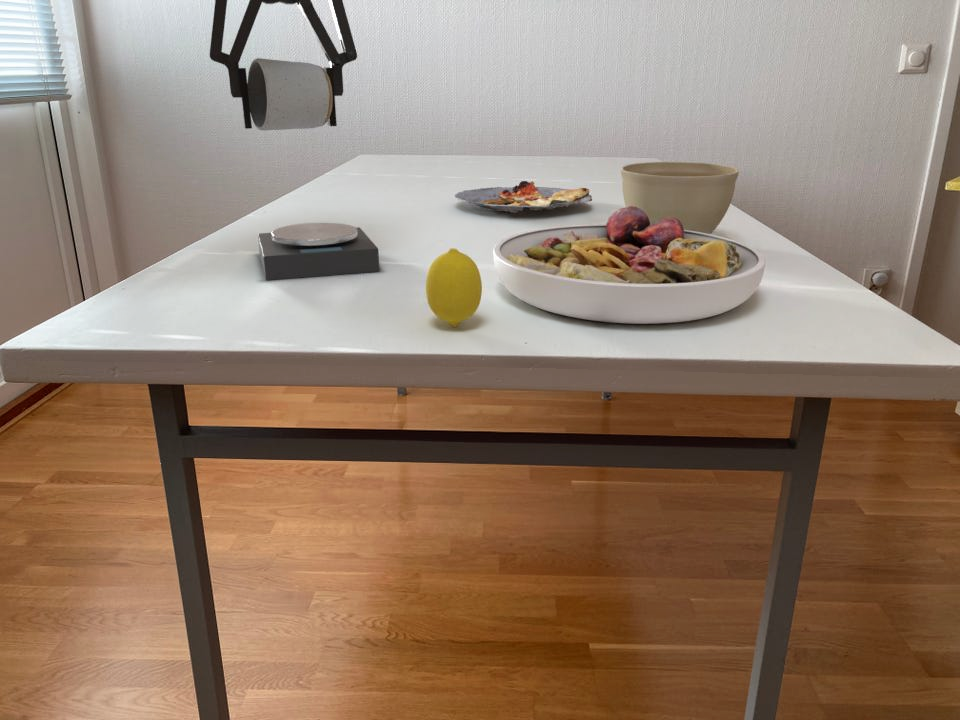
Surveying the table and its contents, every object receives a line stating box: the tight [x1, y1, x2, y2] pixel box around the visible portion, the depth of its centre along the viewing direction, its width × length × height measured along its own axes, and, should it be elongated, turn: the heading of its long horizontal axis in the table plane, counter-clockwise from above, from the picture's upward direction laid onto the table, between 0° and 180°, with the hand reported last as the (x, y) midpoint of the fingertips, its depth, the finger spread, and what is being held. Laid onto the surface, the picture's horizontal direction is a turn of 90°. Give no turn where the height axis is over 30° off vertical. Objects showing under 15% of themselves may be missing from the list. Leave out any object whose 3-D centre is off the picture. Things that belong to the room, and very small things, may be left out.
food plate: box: [454, 180, 593, 214], centre depth 142 cm, size 25×23×4 cm
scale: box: [257, 226, 380, 281], centre depth 102 cm, size 14×14×3 cm
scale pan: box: [271, 222, 358, 246], centre depth 102 cm, size 11×11×1 cm
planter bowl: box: [620, 161, 740, 235], centre depth 112 cm, size 16×16×11 cm
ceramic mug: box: [247, 57, 333, 131], centre depth 91 cm, size 11×8×8 cm
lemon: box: [425, 248, 483, 328], centre depth 77 cm, size 6×6×8 cm
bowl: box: [492, 206, 766, 325], centre depth 88 cm, size 30×30×8 cm
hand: (290, 126), depth 92 cm, fingers closed on ceramic mug, 9 cm apart
